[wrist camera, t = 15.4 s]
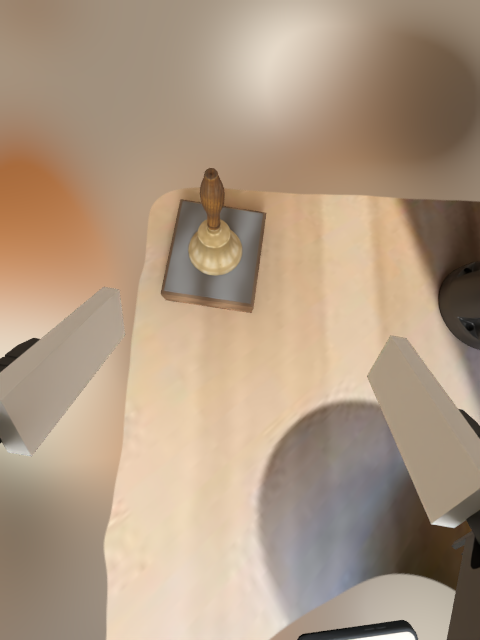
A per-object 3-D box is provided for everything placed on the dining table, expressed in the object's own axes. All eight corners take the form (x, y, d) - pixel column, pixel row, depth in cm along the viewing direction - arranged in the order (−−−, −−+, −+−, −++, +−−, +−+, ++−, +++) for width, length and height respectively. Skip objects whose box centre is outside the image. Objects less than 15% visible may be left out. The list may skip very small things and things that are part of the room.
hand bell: (221, 216, 42) (218, 123, 26) (253, 256, 41) (269, 183, 25) (177, 244, 40) (146, 163, 25) (209, 286, 39) (197, 229, 24)
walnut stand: (263, 225, 46) (266, 211, 42) (251, 312, 43) (253, 306, 39) (184, 212, 46) (180, 197, 42) (166, 300, 43) (159, 292, 39)
